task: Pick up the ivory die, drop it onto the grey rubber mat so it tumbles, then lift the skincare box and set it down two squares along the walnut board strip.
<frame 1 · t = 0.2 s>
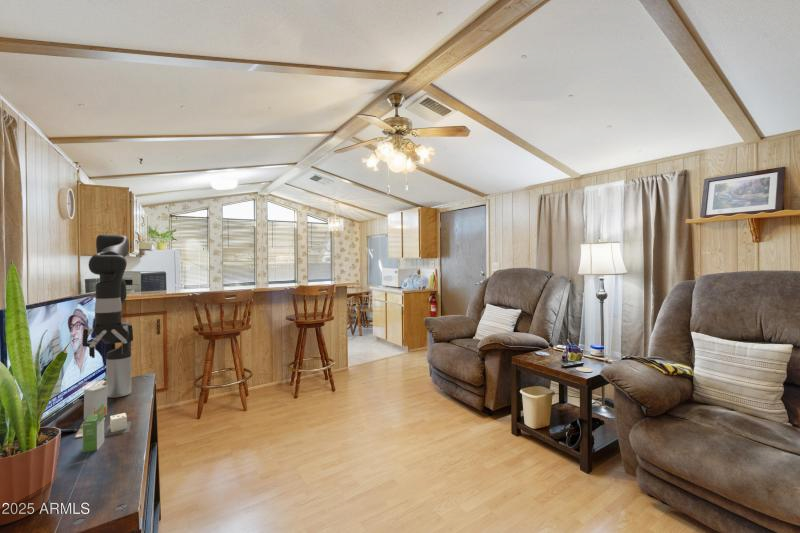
hand: (108, 355, 133), 28 cm above the table, tool pointing down, fingers open, 8 cm apart
mat: (118, 429, 135), on the table
ink box: (93, 447, 122), on the table
skincare box: (95, 418, 145), on the table
die: (118, 428, 135), resting on mat
board: (91, 429, 135), on the table
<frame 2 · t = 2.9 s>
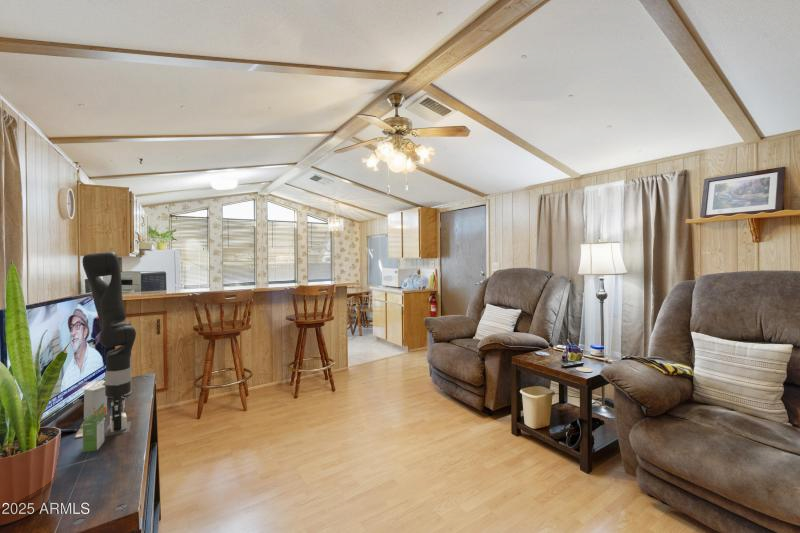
hand: (118, 427, 135), 1 cm above the table, tool pointing down, fingers closed on die, 5 cm apart
die: (118, 428, 135), resting on mat, touching gripper
everything else where it was.
when the fingers open (7 cm above the table, at t = 4.5 s): die drops 7 cm, resting on mat.
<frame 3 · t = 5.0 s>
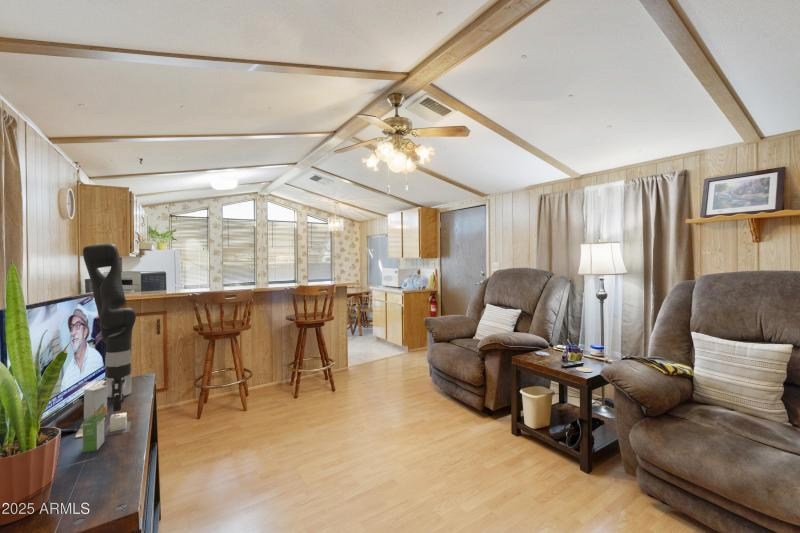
hand: (118, 406, 135), 8 cm above the table, tool pointing down, fingers open, 8 cm apart
die: (118, 427, 136), resting on mat
everything else where it was.
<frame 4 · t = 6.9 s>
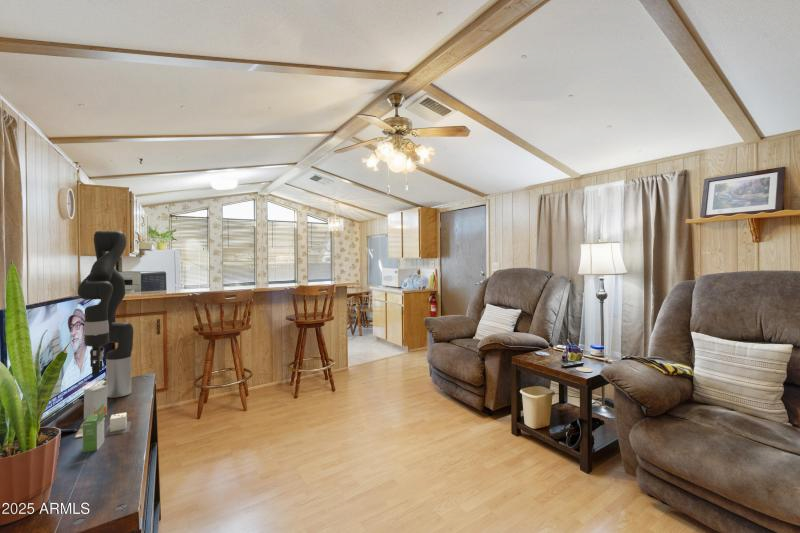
hand: (97, 373, 145), 18 cm above the table, tool pointing down, fingers open, 8 cm apart
nothing on the table moved.
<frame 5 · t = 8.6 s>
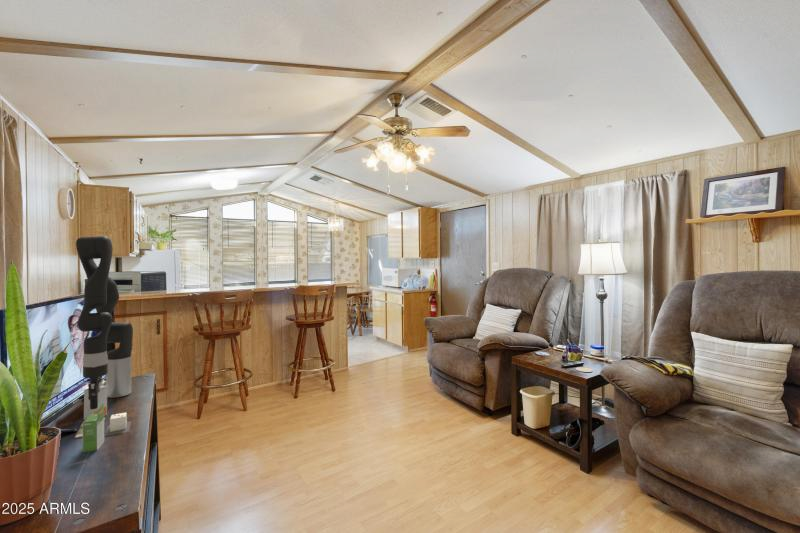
hand: (95, 405, 145), 5 cm above the table, tool pointing down, fingers closed on skincare box, 7 cm apart
skincare box: (95, 418, 145), on the table, touching gripper
everything else where it was.
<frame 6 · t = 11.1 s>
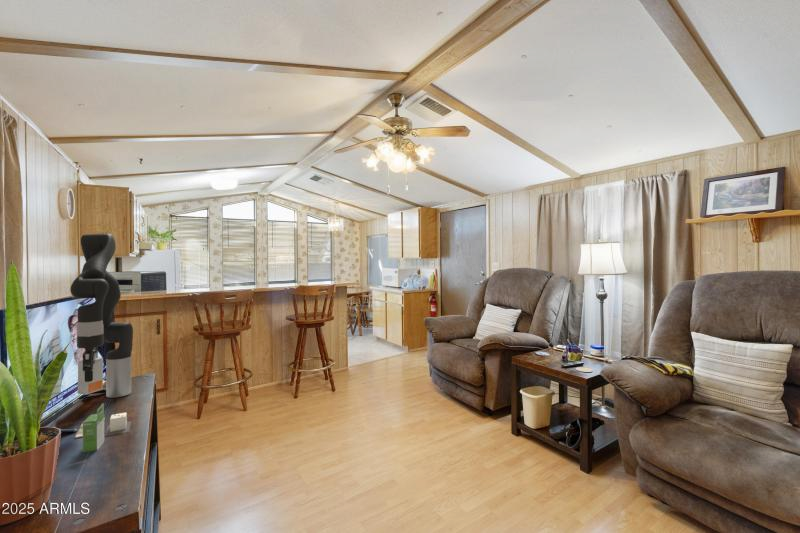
hand: (90, 378, 135), 19 cm above the table, tool pointing down, fingers closed on skincare box, 7 cm apart
skincare box: (90, 392, 135), point 13 cm above the table, touching gripper
everything else where it was.
when the fingers open (7 cm above the table, at t = 13.8 s): skincare box stays where it is, resting on board.
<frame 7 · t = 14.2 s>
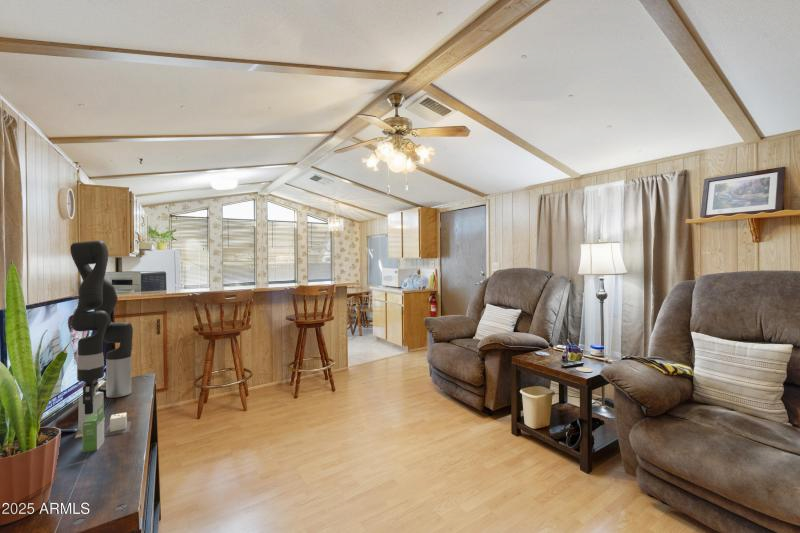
hand: (90, 409, 135), 7 cm above the table, tool pointing down, fingers open, 8 cm apart
skincare box: (91, 427, 135), point 1 cm above the table, touching board
everything else where it was.
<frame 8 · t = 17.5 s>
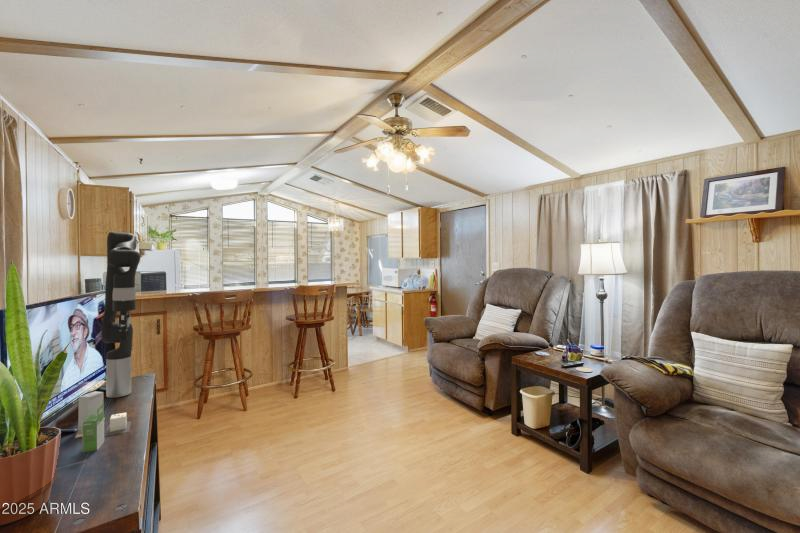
hand: (124, 338, 150), 30 cm above the table, tool pointing down, fingers open, 8 cm apart
nothing on the table moved.
at the end: skincare box 0.2 cm from the target spot, point 0.6 cm above the table; skincare box tilted 0°; die inside the target area (1.2 cm from its centre), resting on mat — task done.
